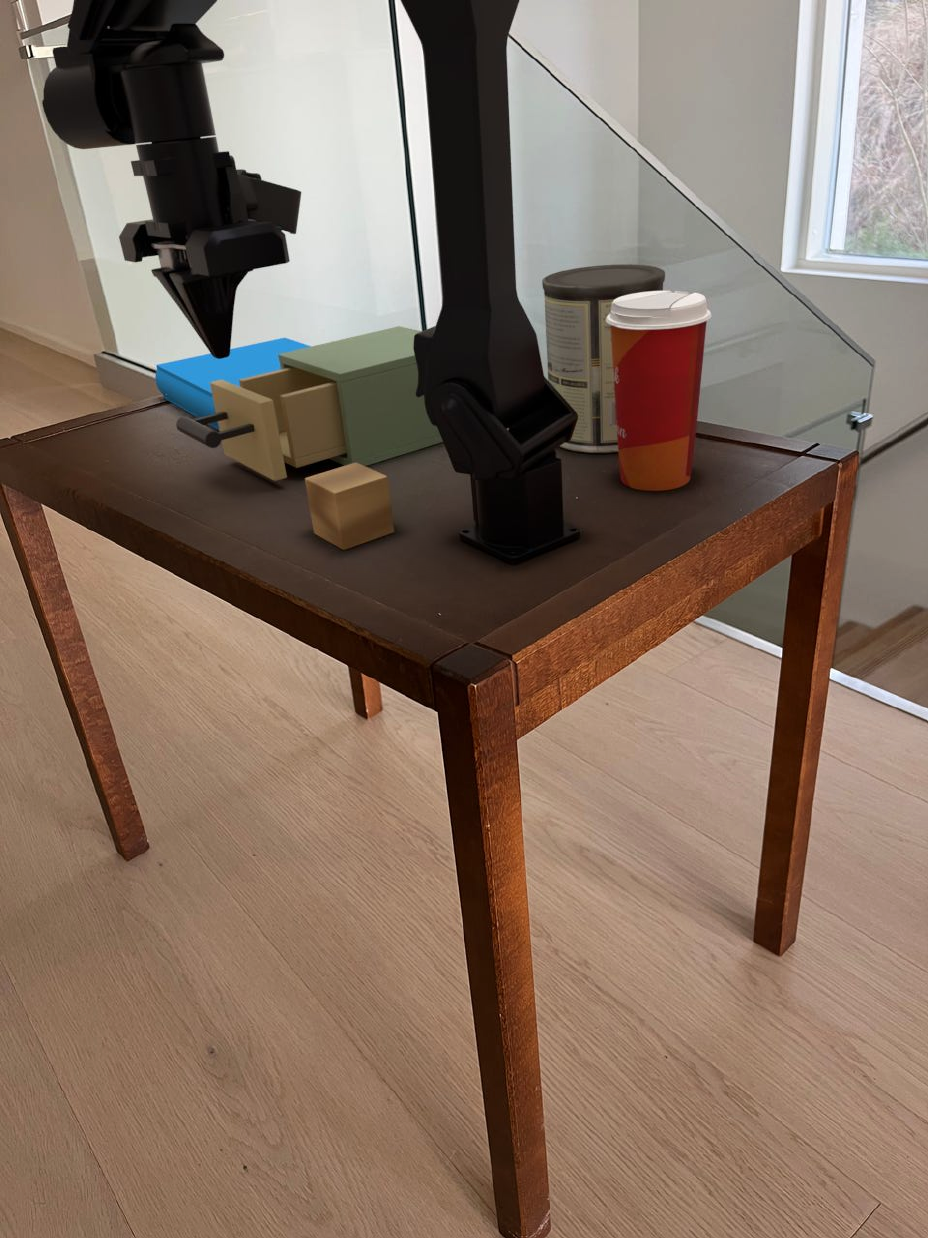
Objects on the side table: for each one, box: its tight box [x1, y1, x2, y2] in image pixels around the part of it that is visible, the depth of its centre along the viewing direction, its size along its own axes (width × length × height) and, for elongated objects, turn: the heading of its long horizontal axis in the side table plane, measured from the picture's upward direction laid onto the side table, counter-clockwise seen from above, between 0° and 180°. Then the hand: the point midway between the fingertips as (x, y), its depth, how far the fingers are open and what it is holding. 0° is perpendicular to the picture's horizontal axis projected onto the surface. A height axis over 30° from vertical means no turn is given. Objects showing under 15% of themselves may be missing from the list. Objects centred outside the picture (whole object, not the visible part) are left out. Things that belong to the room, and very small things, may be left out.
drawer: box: [175, 367, 347, 482], centre depth 85 cm, size 17×10×7 cm, turn 127°
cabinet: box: [278, 325, 443, 467], centre depth 90 cm, size 14×12×9 cm
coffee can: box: [541, 264, 666, 454], centre depth 84 cm, size 10×10×14 cm
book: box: [155, 337, 313, 432], centre depth 105 cm, size 17×4×25 cm
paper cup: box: [606, 290, 712, 492], centre depth 73 cm, size 8×8×14 cm
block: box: [304, 463, 395, 551], centre depth 71 cm, size 4×4×4 cm
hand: (221, 357), depth 76 cm, fingers closed
